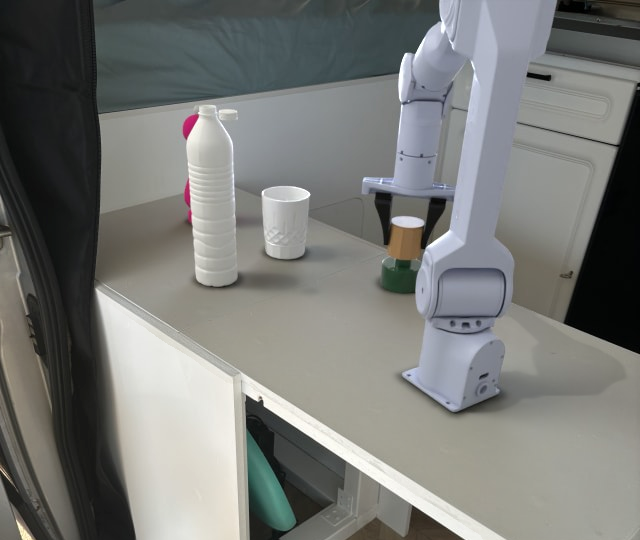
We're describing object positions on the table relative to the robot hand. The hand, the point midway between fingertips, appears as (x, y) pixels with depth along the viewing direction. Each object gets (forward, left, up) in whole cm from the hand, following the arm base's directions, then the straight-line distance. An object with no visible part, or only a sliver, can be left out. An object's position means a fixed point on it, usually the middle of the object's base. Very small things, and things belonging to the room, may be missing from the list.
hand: (405, 245), depth 100 cm
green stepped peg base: (0, 0, -6) cm, 6 cm away
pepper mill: (+40, +14, -7) cm, 43 cm away
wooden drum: (0, 0, -1) cm, 1 cm away
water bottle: (+15, +24, -7) cm, 29 cm away
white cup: (+20, +9, -7) cm, 23 cm away
